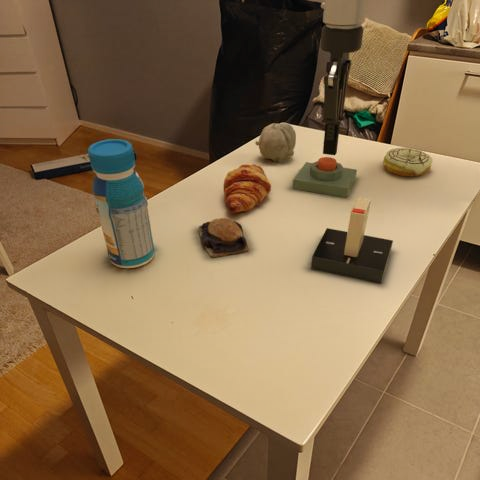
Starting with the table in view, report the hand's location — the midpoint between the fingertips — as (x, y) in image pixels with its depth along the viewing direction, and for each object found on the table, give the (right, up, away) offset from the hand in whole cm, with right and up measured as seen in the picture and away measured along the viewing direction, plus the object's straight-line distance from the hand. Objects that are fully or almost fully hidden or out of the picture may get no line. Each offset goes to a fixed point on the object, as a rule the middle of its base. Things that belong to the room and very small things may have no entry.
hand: (329, 153), depth 99 cm
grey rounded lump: (-11, +4, +16) cm, 19 cm away
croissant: (-18, -9, +1) cm, 20 cm away
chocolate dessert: (-23, -21, -12) cm, 33 cm away
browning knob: (0, -24, -20) cm, 31 cm away
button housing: (0, -5, +5) cm, 7 cm away
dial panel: (0, -25, -18) cm, 31 cm away
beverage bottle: (-39, -25, -16) cm, 49 cm away
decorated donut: (+20, 0, +10) cm, 22 cm away
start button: (0, -2, +2) cm, 3 cm away
